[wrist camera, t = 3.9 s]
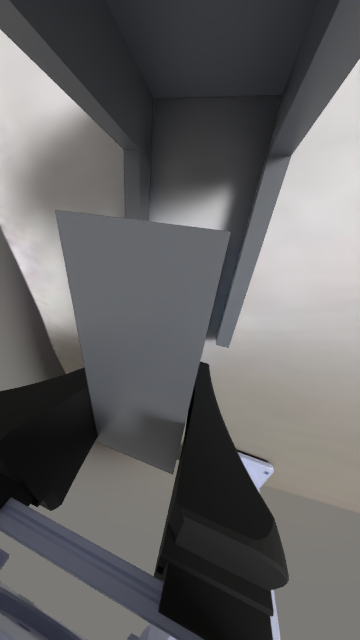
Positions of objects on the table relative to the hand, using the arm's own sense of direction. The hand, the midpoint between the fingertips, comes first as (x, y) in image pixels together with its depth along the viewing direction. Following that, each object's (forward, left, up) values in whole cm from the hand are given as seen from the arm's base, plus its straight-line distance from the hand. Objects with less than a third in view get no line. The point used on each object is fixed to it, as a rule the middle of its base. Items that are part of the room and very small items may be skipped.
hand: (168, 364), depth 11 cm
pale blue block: (+3, 0, -2) cm, 3 cm away
